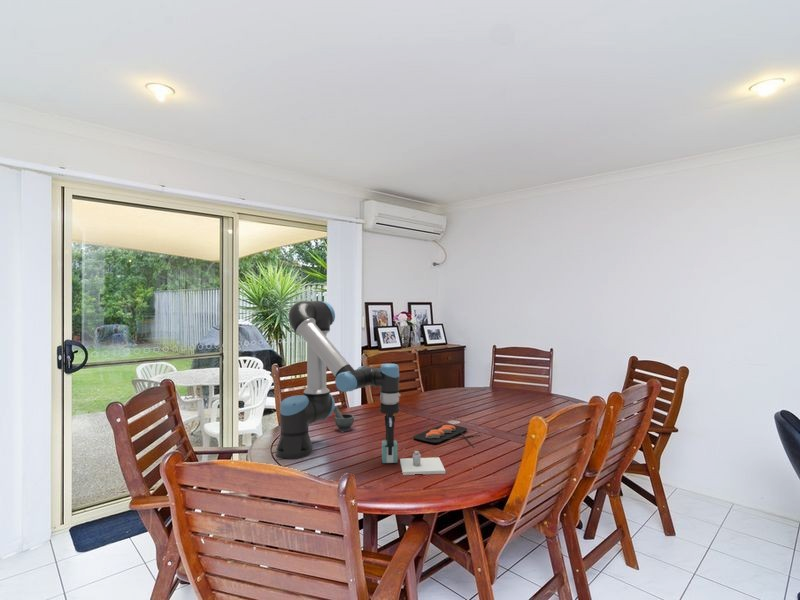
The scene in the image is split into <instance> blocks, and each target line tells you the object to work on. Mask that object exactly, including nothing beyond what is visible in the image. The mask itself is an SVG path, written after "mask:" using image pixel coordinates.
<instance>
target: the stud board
mask: <svg viewBox="0 0 800 600" xmlns="http://www.w3.org/2000/svg"><path fill="white" fill-rule="evenodd" d="M399 462H400V463H399V465H400V468H401V473H403V474H402V476H410V475H411V476H416V475H415V474H423V475H445V474H446V469H445V467H444V465H443V462H442V461H441V459H440V457H439V456H437V457H422V456H421V453H420V451H419V450H415V451H414V453H412V457H411V458H410V457H408V458H407V457H406V458H399Z"/></svg>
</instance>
